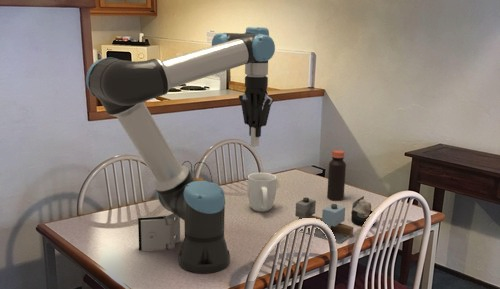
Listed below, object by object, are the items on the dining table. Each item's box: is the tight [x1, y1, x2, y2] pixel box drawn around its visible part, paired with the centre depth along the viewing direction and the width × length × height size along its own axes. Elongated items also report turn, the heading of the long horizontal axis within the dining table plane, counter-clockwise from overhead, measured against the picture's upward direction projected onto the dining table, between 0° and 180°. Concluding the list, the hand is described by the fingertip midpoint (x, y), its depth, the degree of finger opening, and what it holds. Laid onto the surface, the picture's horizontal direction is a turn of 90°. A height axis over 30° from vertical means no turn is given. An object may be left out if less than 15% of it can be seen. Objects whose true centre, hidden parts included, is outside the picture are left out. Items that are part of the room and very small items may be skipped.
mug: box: [247, 172, 277, 213], centre depth 189 cm, size 15×11×13 cm
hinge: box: [137, 213, 181, 252], centre depth 157 cm, size 14×5×10 cm, turn 116°
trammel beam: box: [294, 196, 354, 238], centre depth 174 cm, size 7×20×9 cm, turn 52°
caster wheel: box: [351, 195, 374, 227], centre depth 182 cm, size 7×11×10 cm
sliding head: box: [321, 203, 346, 229], centre depth 172 cm, size 7×5×8 cm
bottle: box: [326, 149, 347, 202], centre depth 204 cm, size 7×7×20 cm
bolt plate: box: [299, 228, 351, 244], centre depth 172 cm, size 7×20×1 cm, turn 52°
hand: (254, 145), depth 168 cm, fingers closed
